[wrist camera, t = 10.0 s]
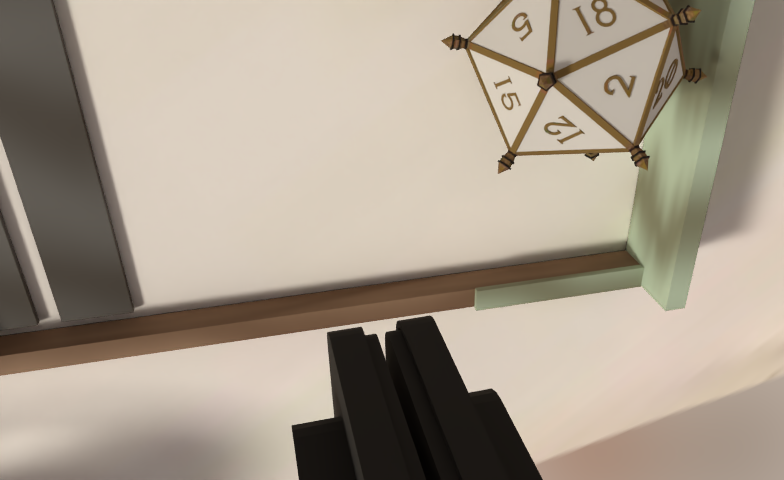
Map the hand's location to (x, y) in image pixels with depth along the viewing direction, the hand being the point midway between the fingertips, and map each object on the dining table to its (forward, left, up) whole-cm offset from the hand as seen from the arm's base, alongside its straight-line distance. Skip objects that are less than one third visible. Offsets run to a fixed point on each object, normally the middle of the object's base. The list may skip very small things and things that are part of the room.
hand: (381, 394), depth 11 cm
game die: (-1, +10, -19) cm, 22 cm away
